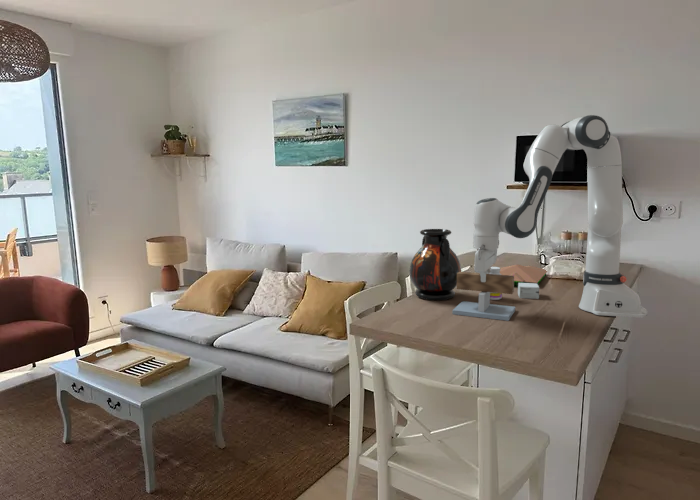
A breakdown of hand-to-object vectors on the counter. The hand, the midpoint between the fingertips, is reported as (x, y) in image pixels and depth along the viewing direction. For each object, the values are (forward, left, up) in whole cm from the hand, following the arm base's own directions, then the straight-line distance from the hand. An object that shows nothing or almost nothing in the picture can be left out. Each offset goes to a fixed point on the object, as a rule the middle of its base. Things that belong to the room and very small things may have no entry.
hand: (485, 280), depth 180 cm
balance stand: (0, 0, -12) cm, 12 cm away
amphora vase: (+24, -16, -12) cm, 31 cm away
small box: (-11, -31, -13) cm, 35 cm away
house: (-2, -60, -13) cm, 62 cm away
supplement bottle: (+1, -22, -12) cm, 25 cm away
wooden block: (0, 0, -4) cm, 4 cm away
